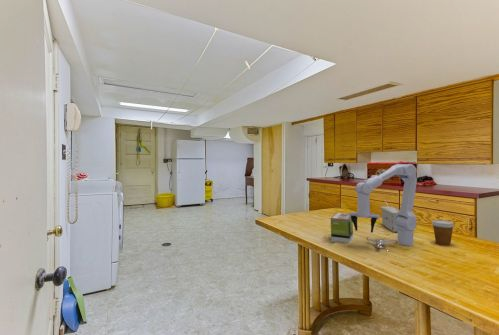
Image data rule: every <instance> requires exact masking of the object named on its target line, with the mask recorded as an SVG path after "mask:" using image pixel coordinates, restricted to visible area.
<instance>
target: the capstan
mask: <svg viewBox="0 0 499 335" xmlns="http://www.w3.org/2000/svg"><path fill="white" fill-rule="evenodd" d="M366 240H367V241H370V242H373V243H375V244H374V246H373V247H374V248H376V249H379V250H385V249H386V248H387V247H386V245H391V244H392V245H395V244H397V242H396V240H385V239H383V238H375V239H374V238H371V237H368V236H367V237H366ZM385 244H386V245H385Z"/></svg>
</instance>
